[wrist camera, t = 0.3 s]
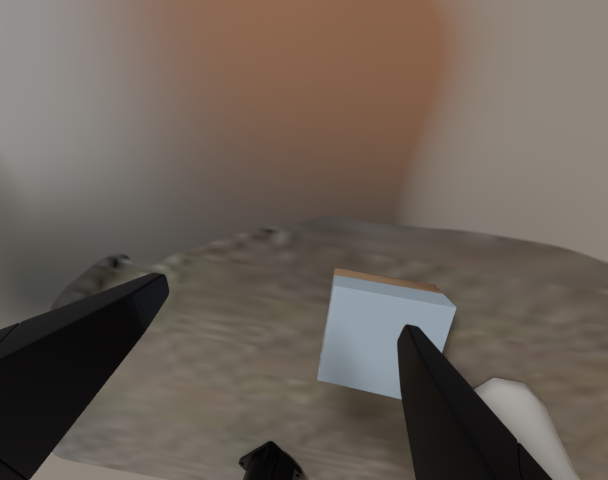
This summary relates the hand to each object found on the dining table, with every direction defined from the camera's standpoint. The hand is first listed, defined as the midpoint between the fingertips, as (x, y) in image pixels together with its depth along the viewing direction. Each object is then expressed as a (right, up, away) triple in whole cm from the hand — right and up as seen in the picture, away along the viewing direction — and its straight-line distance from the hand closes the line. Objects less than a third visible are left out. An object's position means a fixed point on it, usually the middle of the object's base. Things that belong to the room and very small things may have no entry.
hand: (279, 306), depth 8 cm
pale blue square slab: (+8, -7, +14) cm, 18 cm away
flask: (+22, -15, +16) cm, 32 cm away
